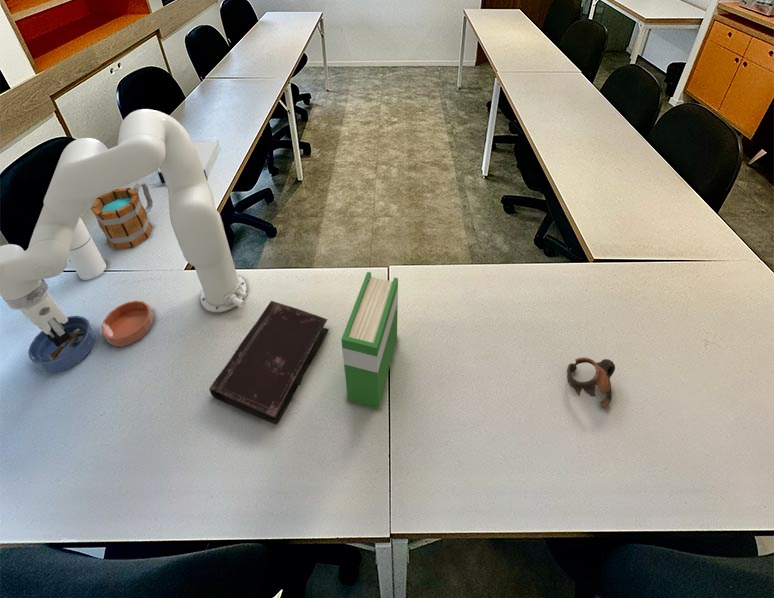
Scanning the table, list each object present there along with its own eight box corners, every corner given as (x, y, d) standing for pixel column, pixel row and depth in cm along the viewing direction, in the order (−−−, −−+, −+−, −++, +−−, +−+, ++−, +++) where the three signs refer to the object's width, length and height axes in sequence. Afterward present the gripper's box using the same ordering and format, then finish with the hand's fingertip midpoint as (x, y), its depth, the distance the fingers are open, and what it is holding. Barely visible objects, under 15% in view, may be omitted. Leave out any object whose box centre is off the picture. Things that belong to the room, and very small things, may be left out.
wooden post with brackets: (89, 332, 112) (79, 330, 108) (62, 360, 108) (51, 359, 104) (84, 328, 112) (74, 326, 108) (57, 355, 109) (46, 355, 105)
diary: (211, 397, 99) (206, 386, 96) (271, 310, 118) (268, 298, 116) (280, 428, 93) (277, 417, 91) (331, 331, 113) (330, 319, 110)
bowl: (107, 340, 111) (100, 329, 109) (54, 383, 102) (45, 373, 99) (79, 318, 117) (72, 308, 114) (26, 357, 107) (17, 347, 105)
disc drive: (161, 183, 166) (157, 173, 164) (180, 151, 185) (176, 142, 182) (207, 181, 168) (204, 171, 165) (221, 149, 186) (218, 140, 184)
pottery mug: (599, 421, 95) (587, 396, 92) (566, 396, 103) (554, 372, 101) (632, 383, 98) (621, 358, 96) (597, 362, 107) (586, 338, 105)
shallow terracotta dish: (162, 319, 116) (158, 312, 114) (122, 353, 108) (118, 346, 106) (136, 301, 121) (133, 294, 119) (97, 333, 113) (92, 326, 111)
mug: (134, 252, 136) (117, 218, 128) (98, 246, 139) (79, 211, 131) (172, 212, 152) (159, 179, 144) (139, 207, 155) (125, 174, 147)
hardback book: (369, 332, 112) (367, 271, 99) (397, 339, 111) (398, 278, 98) (347, 400, 98) (341, 339, 85) (378, 408, 97) (376, 348, 83)
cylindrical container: (87, 283, 126) (50, 221, 113) (74, 273, 130) (37, 211, 116) (110, 267, 131) (78, 206, 118) (98, 258, 135) (65, 197, 121)
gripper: (62, 294, 96) (93, 341, 106) (26, 266, 103) (59, 313, 113) (25, 319, 91) (62, 367, 101) (-10, 289, 97) (27, 336, 107)
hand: (60, 338), depth 107 cm, fingers closed
